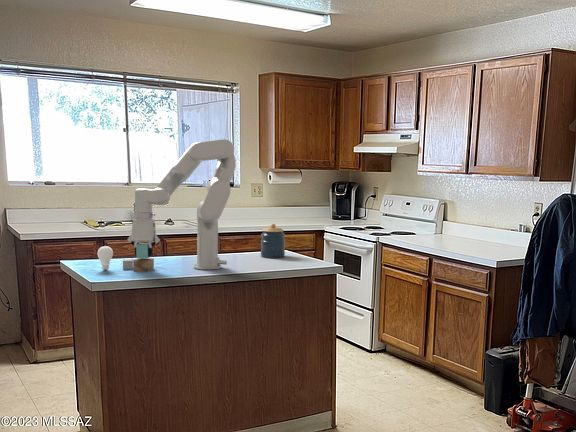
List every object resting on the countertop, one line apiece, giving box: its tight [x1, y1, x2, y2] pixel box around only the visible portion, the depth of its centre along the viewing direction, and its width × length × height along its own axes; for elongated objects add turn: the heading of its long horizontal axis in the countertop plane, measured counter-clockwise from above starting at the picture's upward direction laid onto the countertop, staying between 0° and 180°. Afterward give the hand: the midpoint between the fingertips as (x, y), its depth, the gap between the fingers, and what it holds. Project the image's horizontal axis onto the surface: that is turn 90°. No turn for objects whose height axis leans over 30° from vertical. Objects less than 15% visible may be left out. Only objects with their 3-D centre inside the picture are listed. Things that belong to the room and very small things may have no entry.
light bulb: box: [97, 245, 114, 272], centre depth 234 cm, size 7×7×11 cm
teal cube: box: [135, 242, 152, 259], centre depth 237 cm, size 5×5×6 cm
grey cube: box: [122, 258, 134, 270], centre depth 240 cm, size 4×4×4 cm
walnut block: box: [132, 257, 155, 273], centre depth 238 cm, size 7×7×5 cm
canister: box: [260, 223, 286, 259], centre depth 281 cm, size 13×13×18 cm
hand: (143, 255), depth 237 cm, fingers closed on teal cube, 5 cm apart
